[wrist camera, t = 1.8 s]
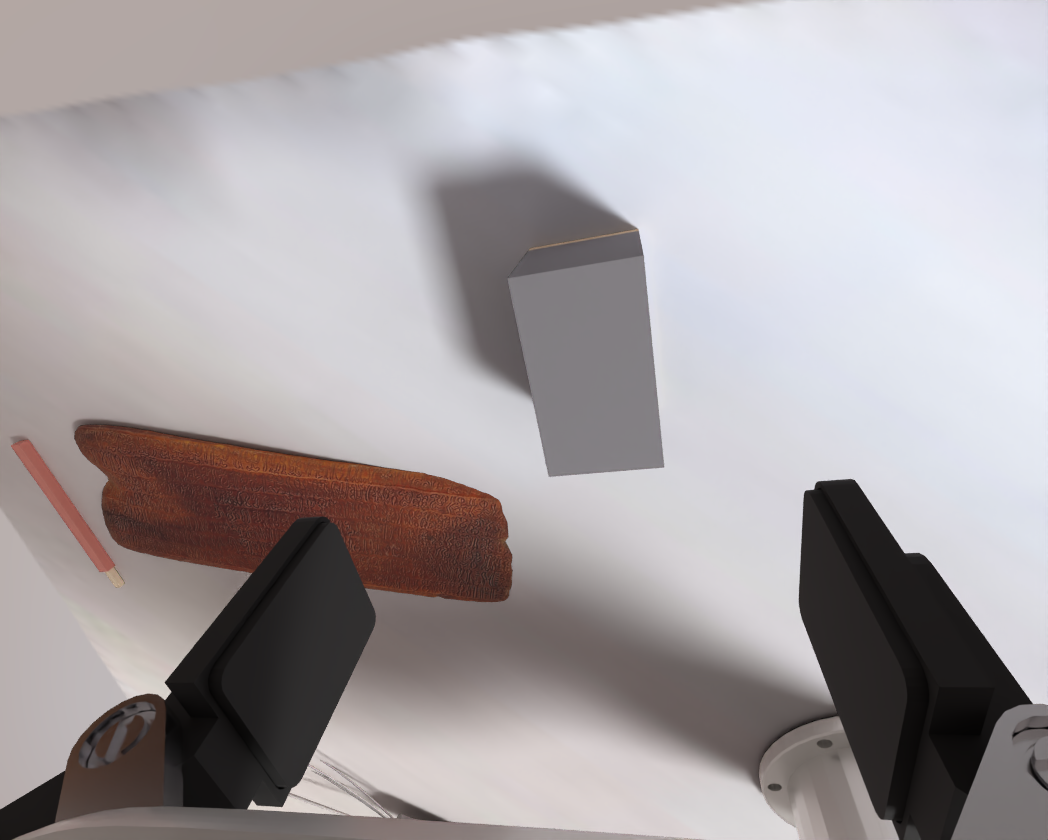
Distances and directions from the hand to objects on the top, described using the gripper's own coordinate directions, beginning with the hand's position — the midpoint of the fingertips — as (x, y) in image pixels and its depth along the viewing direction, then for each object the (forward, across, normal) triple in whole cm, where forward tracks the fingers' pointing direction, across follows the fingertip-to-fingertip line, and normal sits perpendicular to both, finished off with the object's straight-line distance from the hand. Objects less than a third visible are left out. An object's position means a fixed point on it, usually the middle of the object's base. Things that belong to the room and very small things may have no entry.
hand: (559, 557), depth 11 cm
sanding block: (+15, 0, 0) cm, 15 cm away
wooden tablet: (+16, +19, +10) cm, 27 cm away
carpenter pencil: (+15, +35, +8) cm, 39 cm away
